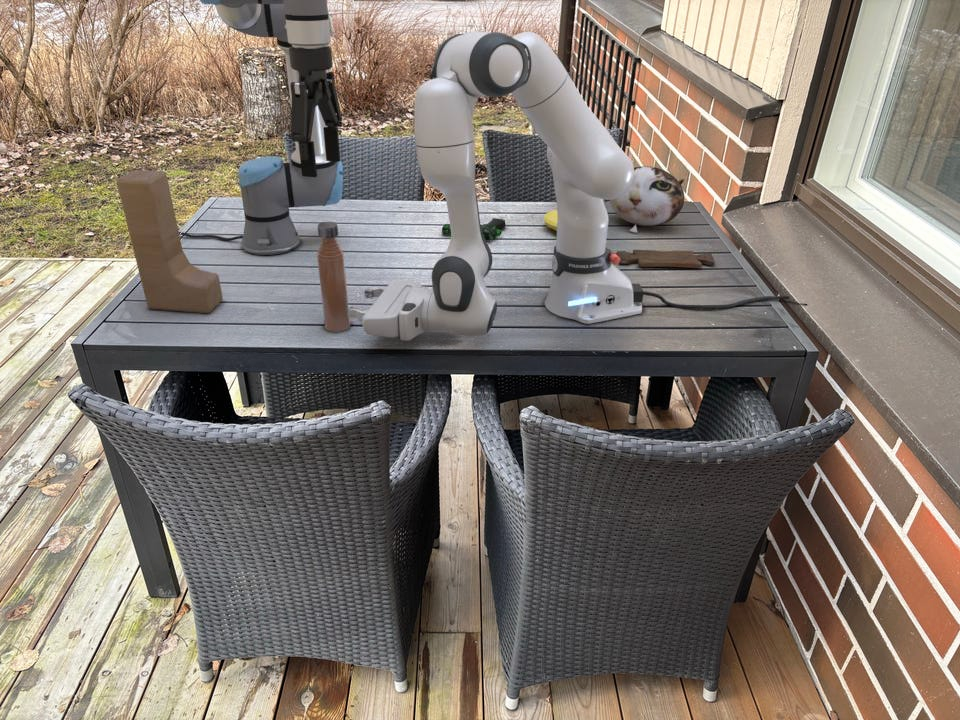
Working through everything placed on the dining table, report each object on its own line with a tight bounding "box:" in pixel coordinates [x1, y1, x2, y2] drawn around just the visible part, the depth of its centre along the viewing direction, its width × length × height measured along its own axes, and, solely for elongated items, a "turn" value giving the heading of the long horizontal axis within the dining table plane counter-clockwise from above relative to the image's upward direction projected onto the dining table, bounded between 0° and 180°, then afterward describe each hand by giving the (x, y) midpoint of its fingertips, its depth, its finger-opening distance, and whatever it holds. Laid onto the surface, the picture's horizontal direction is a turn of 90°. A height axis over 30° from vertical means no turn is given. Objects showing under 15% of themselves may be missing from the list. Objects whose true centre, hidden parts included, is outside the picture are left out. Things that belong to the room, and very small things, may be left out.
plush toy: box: [609, 165, 685, 233], centre depth 210 cm, size 22×18×20 cm
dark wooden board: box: [615, 249, 715, 269], centre depth 190 cm, size 26×2×10 cm
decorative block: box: [116, 169, 224, 314], centre depth 157 cm, size 8×15×30 cm, turn 82°
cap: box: [317, 221, 339, 239], centre depth 146 cm, size 4×4×2 cm
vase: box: [543, 208, 558, 232], centre depth 209 cm, size 16×16×7 cm
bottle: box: [316, 237, 351, 333], centre depth 151 cm, size 6×6×23 cm
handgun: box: [441, 217, 506, 242], centre depth 207 cm, size 16×3×15 cm
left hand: (322, 168), depth 139 cm, fingers open, 10 cm apart
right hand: (357, 301), depth 153 cm, fingers open, 8 cm apart
